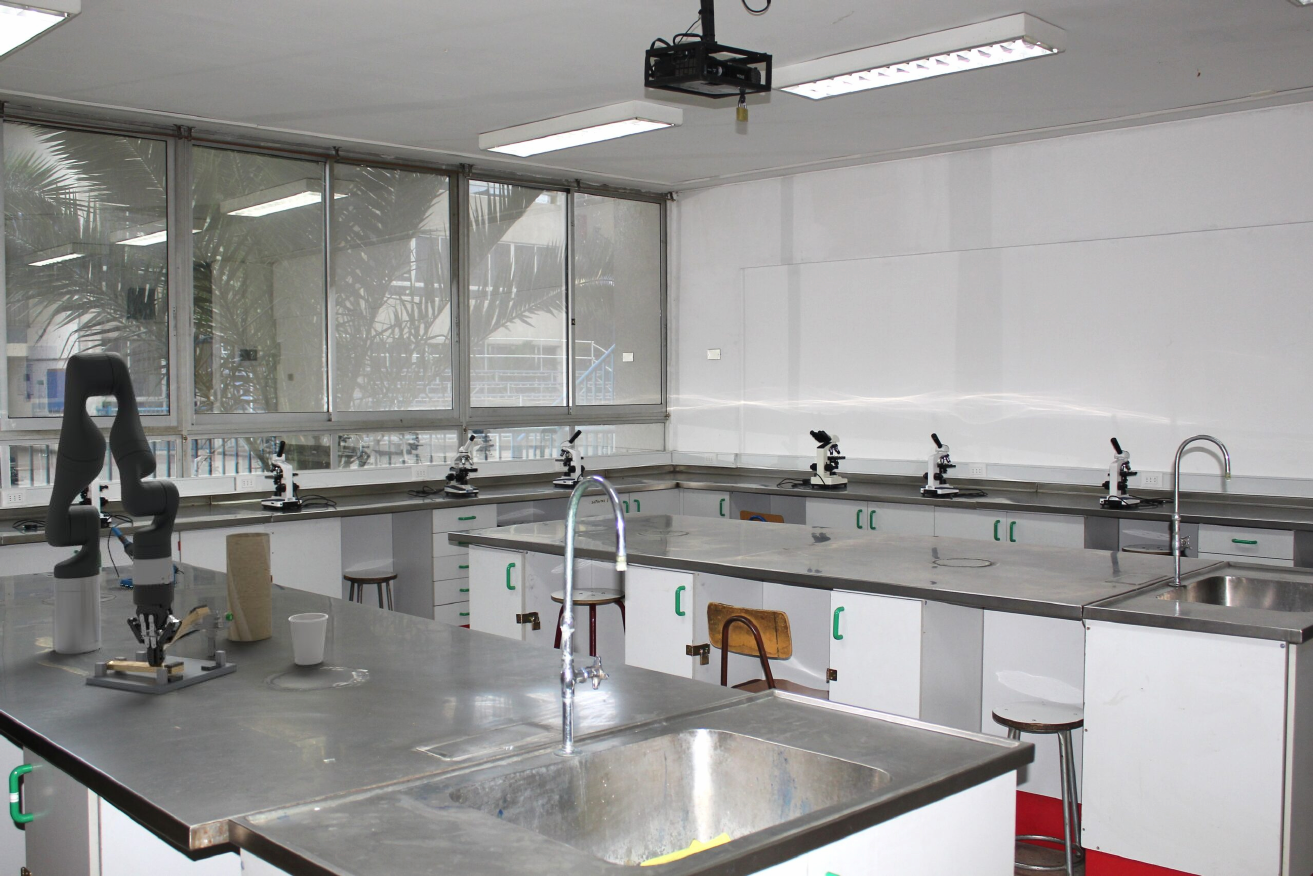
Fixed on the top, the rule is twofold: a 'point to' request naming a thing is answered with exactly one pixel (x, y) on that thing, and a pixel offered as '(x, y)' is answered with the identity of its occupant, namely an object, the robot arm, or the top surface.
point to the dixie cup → (308, 637)
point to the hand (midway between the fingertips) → (155, 665)
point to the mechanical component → (213, 627)
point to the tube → (249, 586)
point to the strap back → (190, 621)
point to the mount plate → (161, 674)
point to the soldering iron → (129, 554)
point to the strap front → (144, 666)
